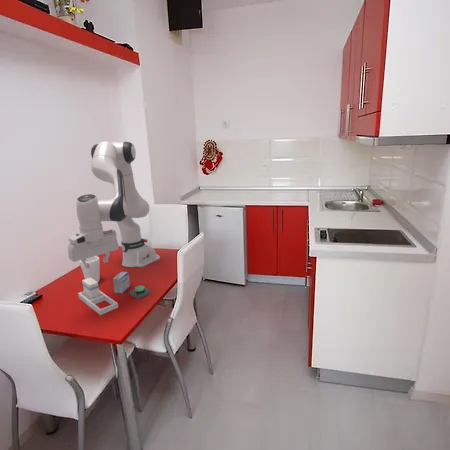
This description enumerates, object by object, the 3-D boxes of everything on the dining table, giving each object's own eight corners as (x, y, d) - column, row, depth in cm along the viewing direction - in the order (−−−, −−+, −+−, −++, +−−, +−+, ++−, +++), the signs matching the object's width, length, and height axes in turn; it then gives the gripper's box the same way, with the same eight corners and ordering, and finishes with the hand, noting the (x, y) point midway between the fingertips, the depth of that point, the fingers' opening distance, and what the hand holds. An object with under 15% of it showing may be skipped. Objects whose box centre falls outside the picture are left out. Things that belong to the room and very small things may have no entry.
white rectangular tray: (95, 292, 158) (94, 287, 158) (118, 309, 142) (117, 303, 141) (79, 299, 153) (78, 293, 152) (100, 316, 137) (99, 310, 136)
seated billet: (93, 294, 155) (90, 277, 153) (100, 300, 150) (98, 282, 147) (84, 297, 153) (81, 280, 150) (92, 303, 147) (89, 285, 145)
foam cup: (83, 287, 164) (79, 264, 161) (83, 281, 172) (79, 258, 169) (103, 283, 168) (99, 260, 165) (101, 277, 176) (98, 254, 173)
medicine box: (123, 295, 155) (121, 278, 153) (114, 294, 156) (112, 278, 154) (130, 287, 163) (128, 271, 160) (122, 287, 164) (120, 271, 161)
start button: (142, 292, 156) (141, 284, 155) (147, 295, 153) (146, 287, 152) (134, 295, 153) (133, 287, 152) (138, 298, 150) (137, 290, 149)
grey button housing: (143, 291, 158) (142, 285, 157) (151, 296, 153) (150, 290, 152) (130, 296, 153) (129, 291, 152) (138, 301, 148) (137, 295, 148)
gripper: (112, 227, 143) (116, 256, 147) (64, 238, 130) (69, 270, 133) (118, 229, 139) (122, 259, 143) (70, 241, 125) (75, 274, 129)
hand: (96, 265), depth 138 cm, fingers open, 7 cm apart
